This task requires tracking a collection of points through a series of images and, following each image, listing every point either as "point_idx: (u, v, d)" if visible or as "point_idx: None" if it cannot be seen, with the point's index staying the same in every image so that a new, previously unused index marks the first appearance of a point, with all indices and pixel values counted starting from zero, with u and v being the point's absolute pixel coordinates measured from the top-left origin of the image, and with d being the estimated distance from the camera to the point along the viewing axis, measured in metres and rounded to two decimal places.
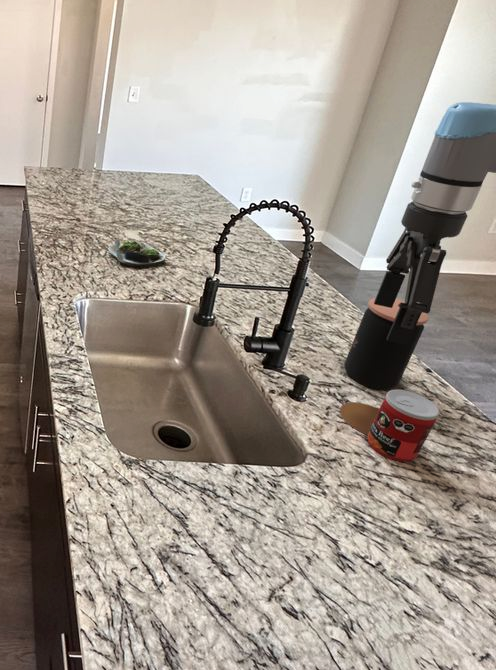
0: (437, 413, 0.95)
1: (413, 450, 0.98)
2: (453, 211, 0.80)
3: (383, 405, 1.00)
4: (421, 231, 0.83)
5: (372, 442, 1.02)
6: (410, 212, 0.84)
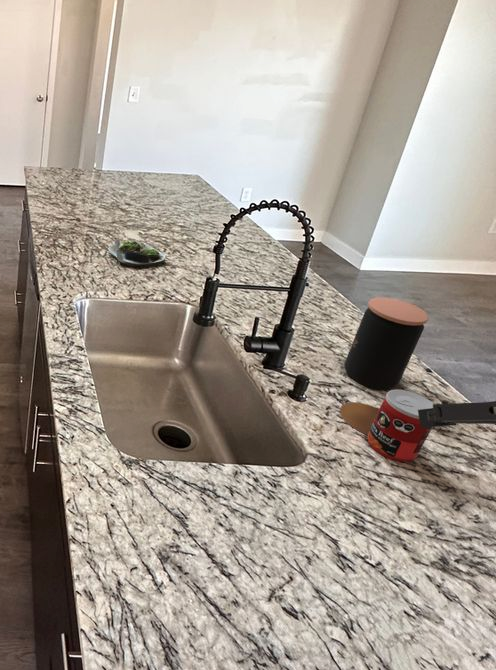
0: None
1: (413, 450, 0.98)
2: None
3: (383, 405, 1.00)
4: None
5: (372, 442, 1.02)
6: None
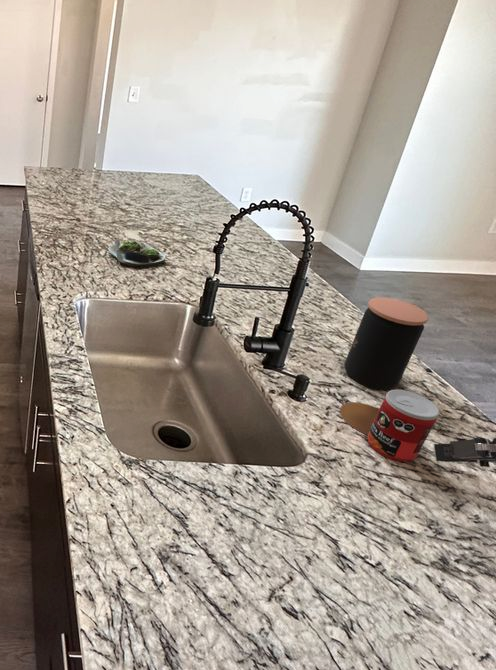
0: (437, 413, 0.95)
1: (413, 450, 0.98)
2: None
3: (383, 405, 1.00)
4: None
5: (372, 442, 1.02)
6: None
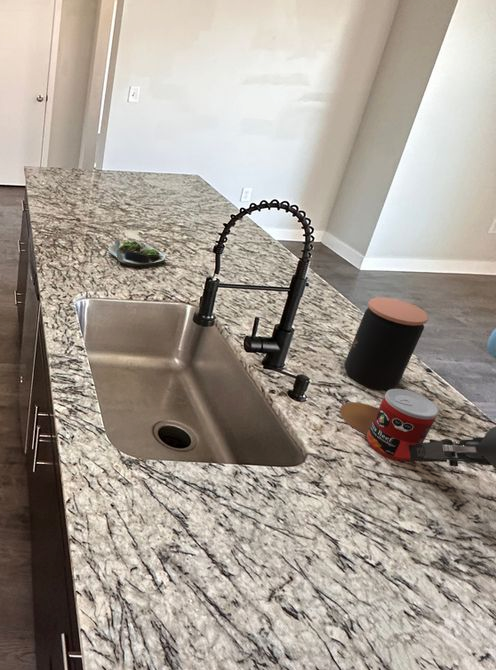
0: (436, 412, 0.95)
1: None
2: None
3: (382, 404, 1.00)
4: None
5: (371, 441, 1.02)
6: None
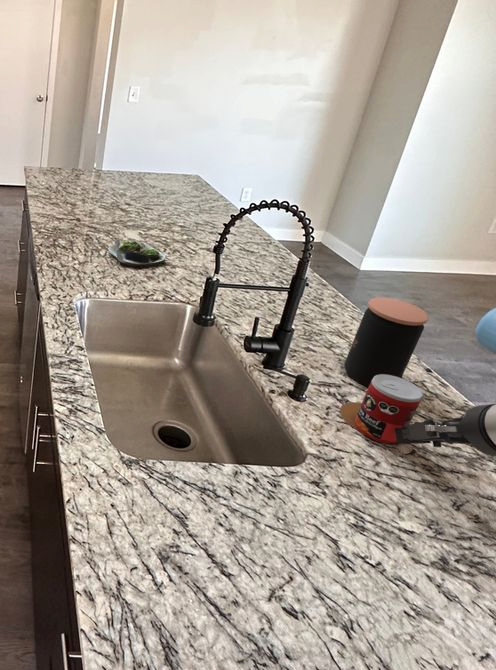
0: (420, 396, 0.99)
1: None
2: None
3: (369, 389, 1.04)
4: None
5: (359, 425, 1.06)
6: None
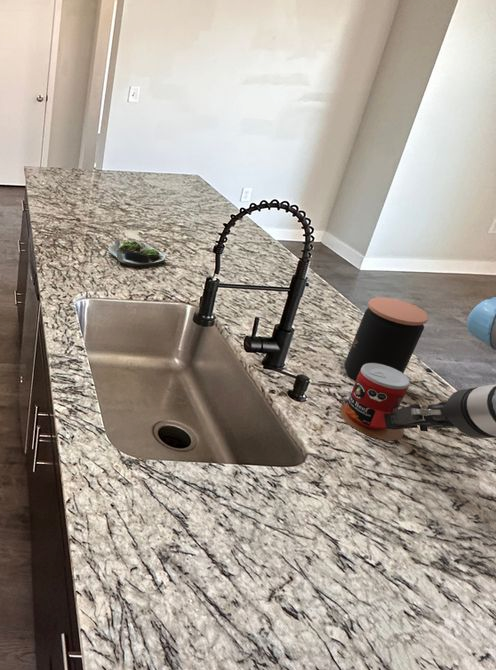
0: (407, 383, 1.03)
1: None
2: None
3: (359, 377, 1.07)
4: None
5: (349, 412, 1.09)
6: None
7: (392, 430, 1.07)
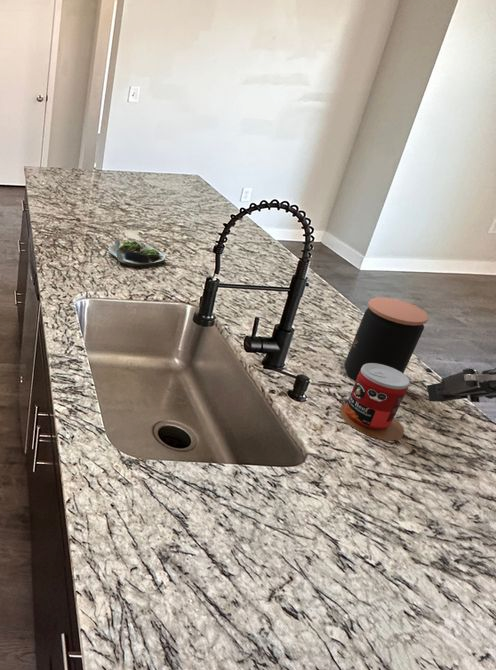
0: (407, 383, 1.03)
1: (386, 418, 1.05)
2: None
3: (359, 377, 1.07)
4: None
5: (349, 412, 1.09)
6: None
7: (392, 430, 1.07)
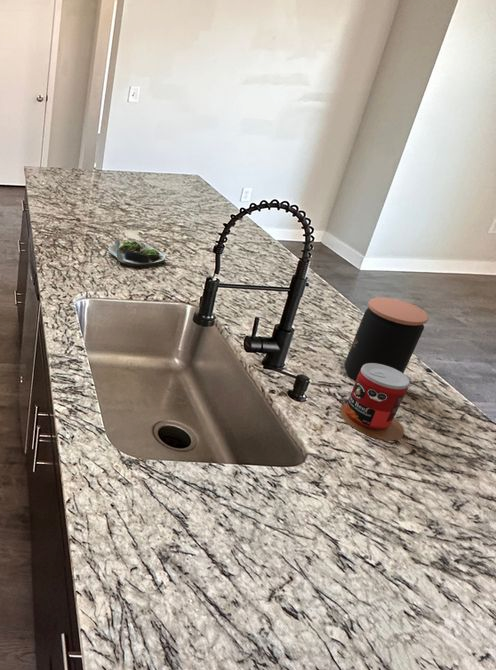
0: (407, 383, 1.03)
1: (386, 418, 1.05)
2: None
3: (359, 377, 1.07)
4: None
5: (349, 412, 1.09)
6: None
7: (392, 430, 1.07)
